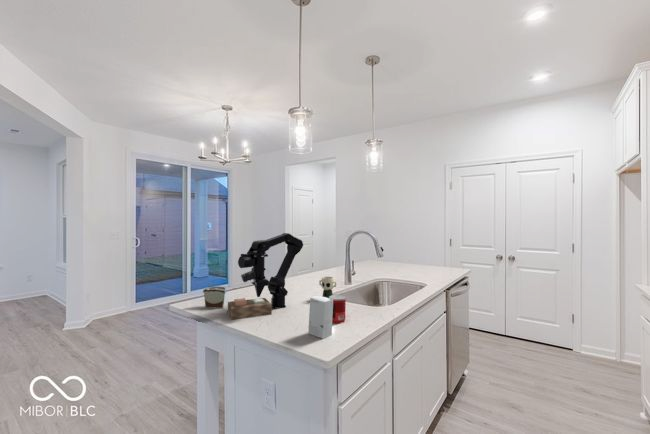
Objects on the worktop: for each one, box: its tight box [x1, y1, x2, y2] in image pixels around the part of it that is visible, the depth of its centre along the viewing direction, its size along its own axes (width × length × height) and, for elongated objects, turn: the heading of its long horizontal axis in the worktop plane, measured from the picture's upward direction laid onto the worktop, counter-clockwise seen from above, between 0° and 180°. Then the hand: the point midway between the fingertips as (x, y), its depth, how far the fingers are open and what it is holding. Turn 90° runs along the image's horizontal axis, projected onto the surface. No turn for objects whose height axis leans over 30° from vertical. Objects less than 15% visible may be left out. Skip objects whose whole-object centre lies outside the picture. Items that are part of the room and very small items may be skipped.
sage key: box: [252, 298, 265, 304], centre depth 151 cm, size 5×5×4 cm
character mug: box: [318, 276, 337, 298], centre depth 174 cm, size 11×7×13 cm, turn 64°
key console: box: [227, 297, 273, 320], centre depth 149 cm, size 19×13×5 cm
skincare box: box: [308, 295, 333, 340], centre depth 122 cm, size 8×6×15 cm
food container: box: [202, 286, 227, 309], centre depth 160 cm, size 12×6×10 cm, turn 84°
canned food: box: [329, 294, 347, 324], centre depth 138 cm, size 8×8×11 cm
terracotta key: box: [233, 297, 247, 306], centre depth 147 cm, size 5×5×4 cm
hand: (258, 297), depth 151 cm, fingers closed
